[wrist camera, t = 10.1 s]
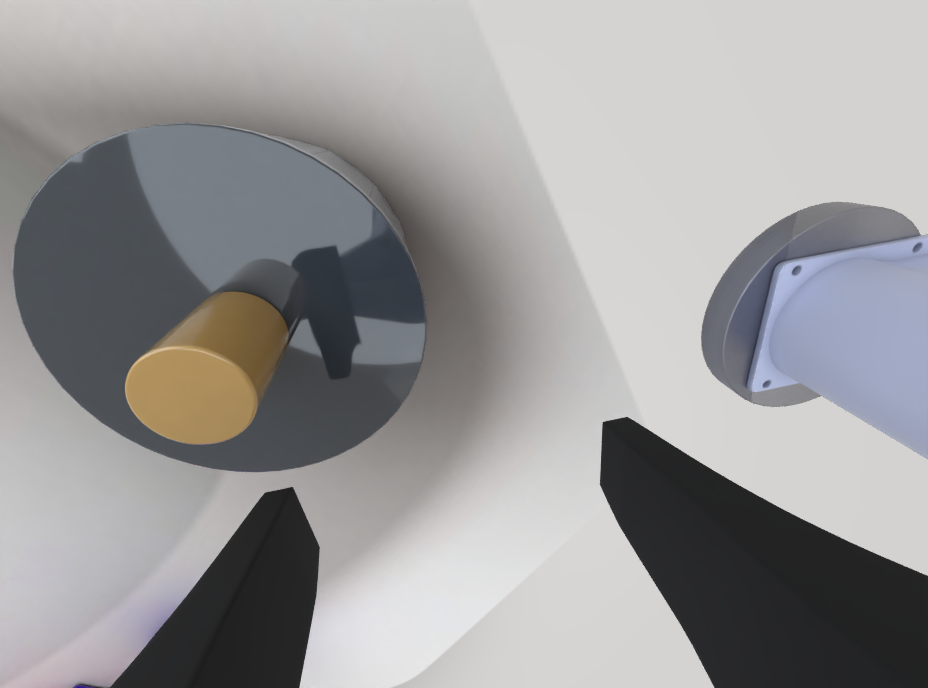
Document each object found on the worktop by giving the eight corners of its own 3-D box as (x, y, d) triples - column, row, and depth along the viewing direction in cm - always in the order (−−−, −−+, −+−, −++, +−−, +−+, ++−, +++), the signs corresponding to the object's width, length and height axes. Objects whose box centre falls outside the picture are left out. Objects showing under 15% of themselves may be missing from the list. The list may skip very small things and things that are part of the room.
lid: (386, 97, 10) (385, 73, 6) (446, 416, 15) (465, 513, 11) (-53, 157, 9) (-357, 170, 5) (157, 476, 14) (71, 603, 10)
